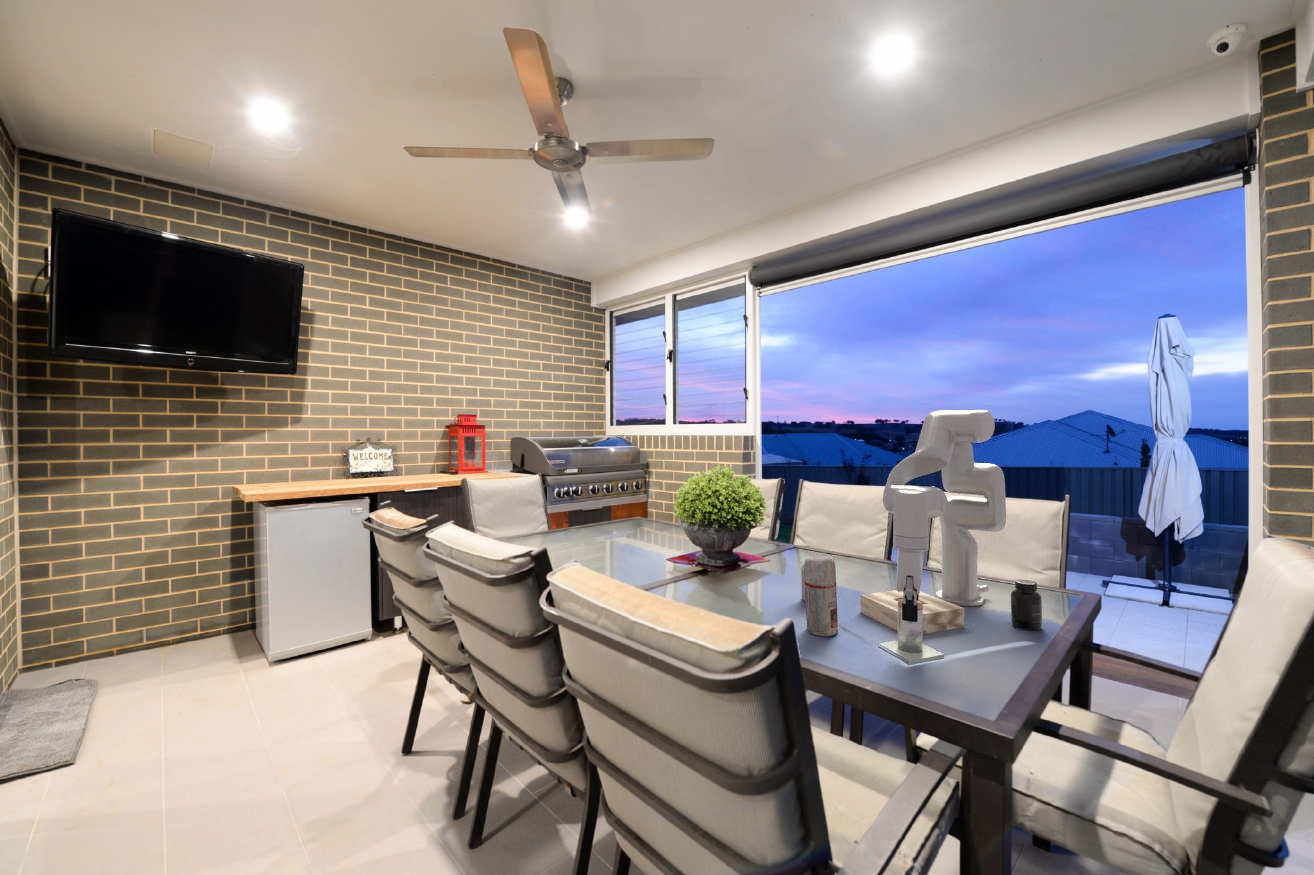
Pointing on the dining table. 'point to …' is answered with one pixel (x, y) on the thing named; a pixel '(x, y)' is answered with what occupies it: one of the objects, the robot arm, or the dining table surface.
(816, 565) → the spray can
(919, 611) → the copper topped silver cylinder
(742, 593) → the dining table surface
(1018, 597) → the supplement bottle
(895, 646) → the pad
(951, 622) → the housing
